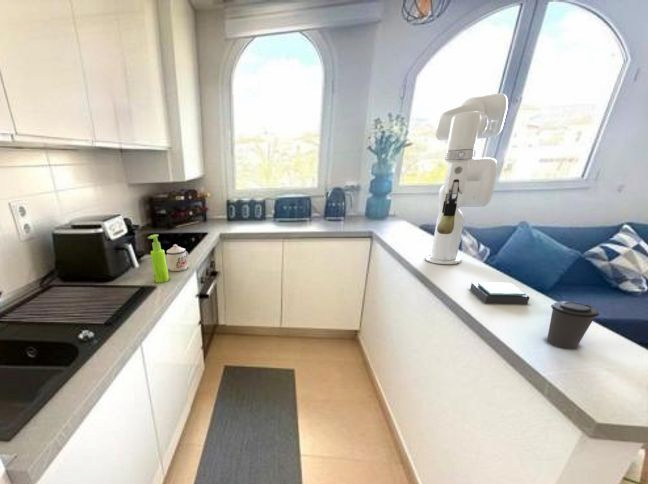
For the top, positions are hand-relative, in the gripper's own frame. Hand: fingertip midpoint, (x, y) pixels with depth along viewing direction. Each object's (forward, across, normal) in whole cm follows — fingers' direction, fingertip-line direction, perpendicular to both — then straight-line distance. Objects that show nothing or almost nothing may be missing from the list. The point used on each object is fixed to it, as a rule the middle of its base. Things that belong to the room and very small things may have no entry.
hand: (448, 213), depth 117 cm
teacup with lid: (+24, -8, +108) cm, 111 cm away
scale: (+24, -14, -16) cm, 32 cm away
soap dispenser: (+24, -26, +106) cm, 111 cm away
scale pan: (+21, -15, -16) cm, 30 cm away
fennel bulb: (+7, 0, 0) cm, 7 cm away
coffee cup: (+24, -42, -24) cm, 54 cm away
